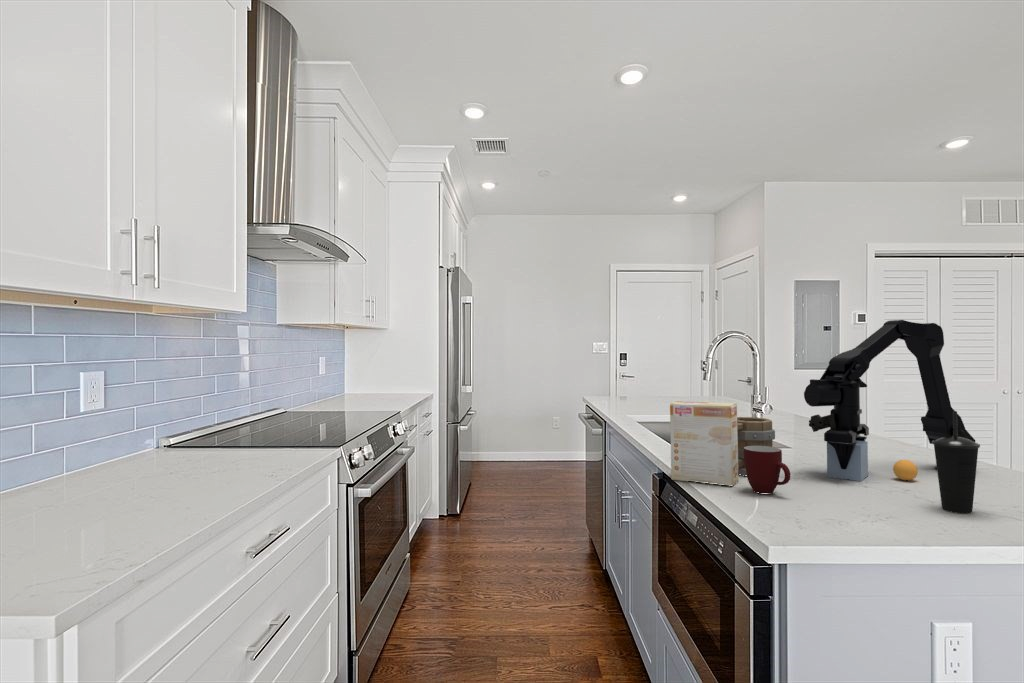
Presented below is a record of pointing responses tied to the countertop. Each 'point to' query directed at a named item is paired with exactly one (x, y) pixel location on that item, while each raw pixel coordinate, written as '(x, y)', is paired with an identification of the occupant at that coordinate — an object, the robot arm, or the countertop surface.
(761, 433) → the tankard
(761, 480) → the mug
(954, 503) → the drinking cup
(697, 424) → the coffeecake box
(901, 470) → the ball
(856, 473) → the slate grey cube
